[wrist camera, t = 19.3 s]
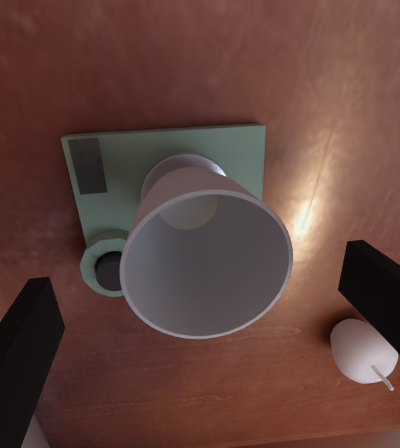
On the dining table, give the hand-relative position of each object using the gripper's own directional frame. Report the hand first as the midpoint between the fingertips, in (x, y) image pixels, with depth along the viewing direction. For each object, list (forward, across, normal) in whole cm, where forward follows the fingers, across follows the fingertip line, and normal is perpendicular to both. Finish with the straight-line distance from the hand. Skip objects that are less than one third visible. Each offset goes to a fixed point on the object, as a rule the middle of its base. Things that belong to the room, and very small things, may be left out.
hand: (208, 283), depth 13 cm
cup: (+11, 0, 0) cm, 11 cm away
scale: (+15, -1, -1) cm, 15 cm away
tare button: (+12, -6, -6) cm, 15 cm away
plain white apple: (+15, +20, -21) cm, 33 cm away
